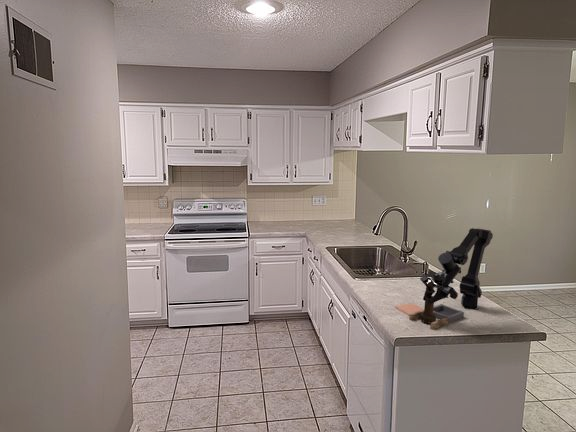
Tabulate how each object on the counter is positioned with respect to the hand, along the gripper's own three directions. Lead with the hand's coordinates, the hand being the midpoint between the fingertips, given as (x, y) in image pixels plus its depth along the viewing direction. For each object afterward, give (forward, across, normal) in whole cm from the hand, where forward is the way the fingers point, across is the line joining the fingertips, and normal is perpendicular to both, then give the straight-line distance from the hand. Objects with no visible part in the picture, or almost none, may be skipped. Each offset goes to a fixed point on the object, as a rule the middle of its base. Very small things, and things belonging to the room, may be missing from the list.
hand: (426, 301), depth 185 cm
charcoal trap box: (-2, -2, +16) cm, 17 cm away
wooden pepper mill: (+6, 0, +8) cm, 9 cm away
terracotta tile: (+5, -14, +9) cm, 17 cm away
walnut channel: (+6, 0, +8) cm, 10 cm away
